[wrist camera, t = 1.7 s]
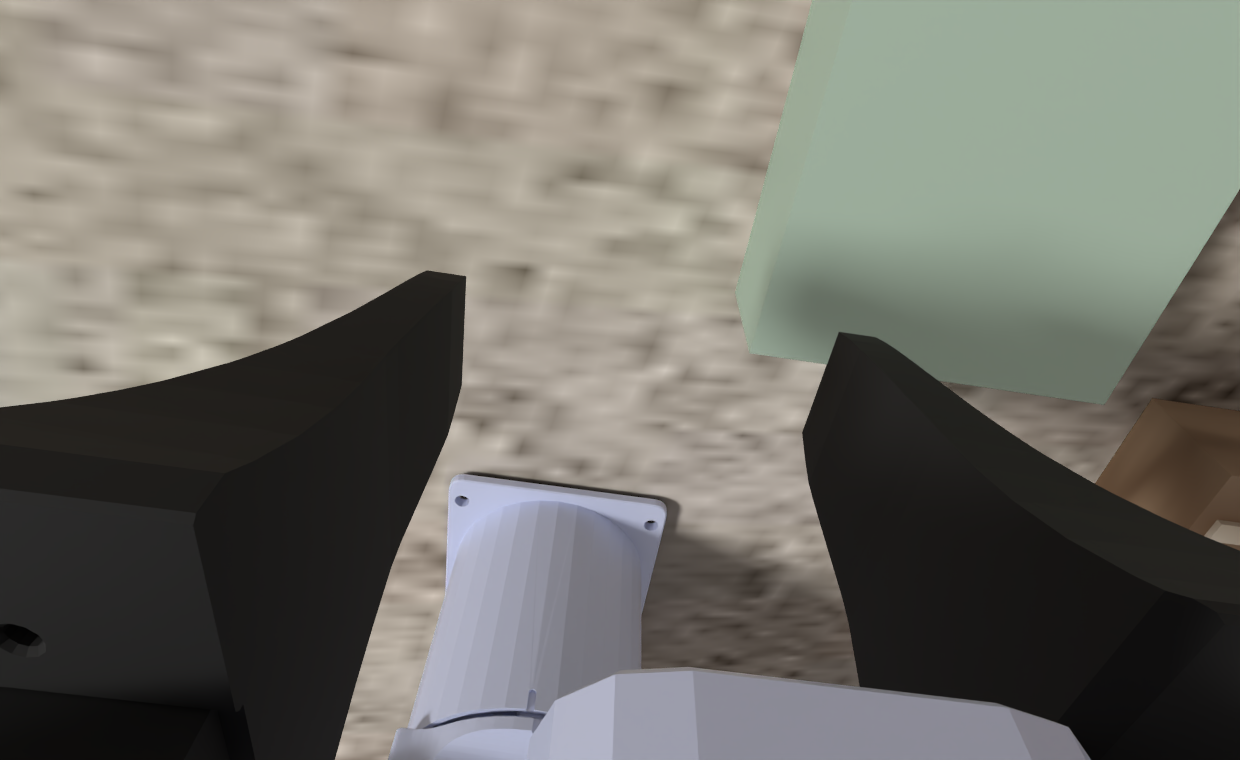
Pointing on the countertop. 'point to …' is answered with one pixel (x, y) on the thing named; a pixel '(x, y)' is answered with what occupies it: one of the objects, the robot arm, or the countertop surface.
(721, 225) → the countertop surface
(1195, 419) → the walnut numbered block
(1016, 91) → the sage block
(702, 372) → the countertop surface
